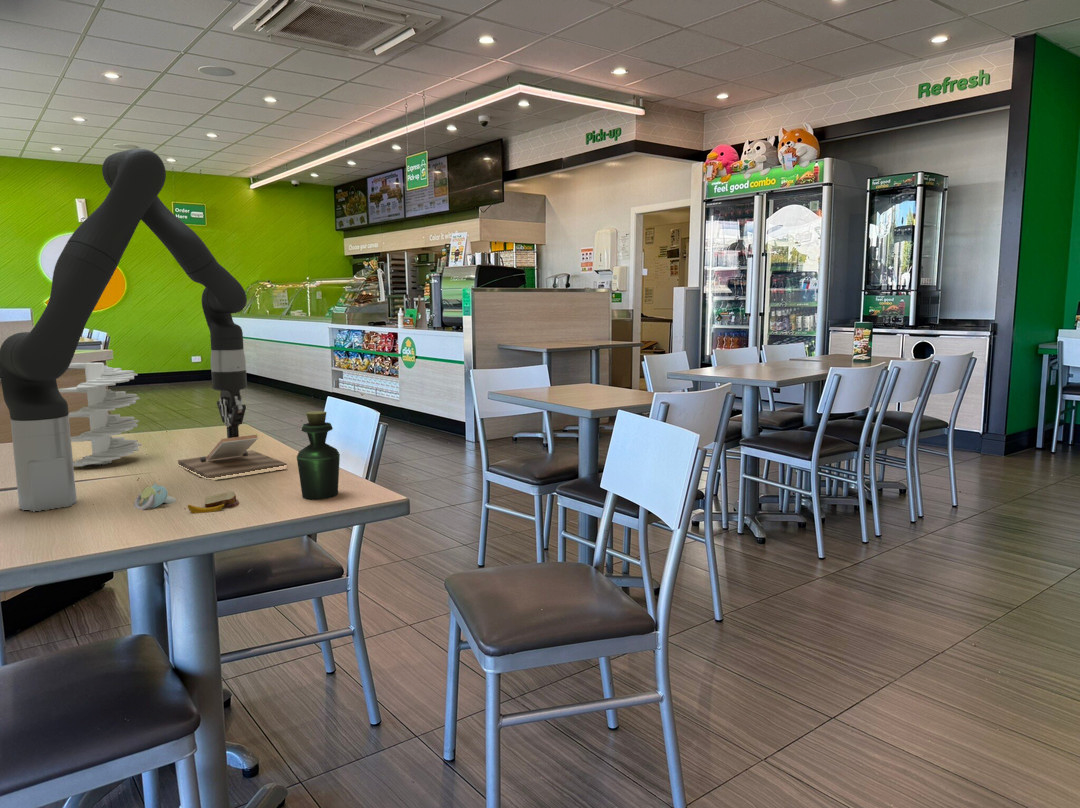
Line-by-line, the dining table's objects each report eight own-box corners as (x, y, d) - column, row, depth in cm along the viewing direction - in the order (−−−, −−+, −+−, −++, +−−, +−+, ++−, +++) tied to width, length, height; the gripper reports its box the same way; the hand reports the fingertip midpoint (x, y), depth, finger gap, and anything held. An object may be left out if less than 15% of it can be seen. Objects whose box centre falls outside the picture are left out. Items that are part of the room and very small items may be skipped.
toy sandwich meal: (186, 510, 142) (184, 492, 141) (242, 506, 144) (241, 488, 144) (175, 524, 133) (174, 504, 132) (235, 519, 135) (234, 500, 135)
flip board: (287, 469, 175) (286, 458, 175) (208, 482, 163) (207, 470, 163) (252, 455, 191) (251, 445, 191) (178, 466, 180) (177, 455, 179)
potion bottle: (320, 495, 151) (316, 408, 149) (350, 500, 148) (346, 411, 145) (290, 504, 144) (285, 413, 142) (320, 509, 140) (316, 416, 138)
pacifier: (126, 505, 140) (146, 478, 143) (154, 521, 144) (173, 494, 147) (141, 512, 136) (161, 484, 138) (169, 528, 140) (188, 500, 142)
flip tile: (240, 451, 183) (241, 455, 183) (207, 456, 178) (207, 460, 178) (256, 434, 174) (257, 438, 174) (222, 438, 169) (222, 442, 168)
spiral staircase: (155, 461, 185) (147, 362, 181) (76, 474, 172) (66, 367, 168) (127, 452, 197) (120, 359, 193) (51, 463, 184) (41, 363, 180)
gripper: (255, 369, 170) (259, 443, 172) (235, 366, 180) (239, 436, 182) (222, 371, 165) (226, 447, 167) (202, 368, 175) (207, 440, 177)
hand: (233, 441), depth 175 cm, fingers closed
